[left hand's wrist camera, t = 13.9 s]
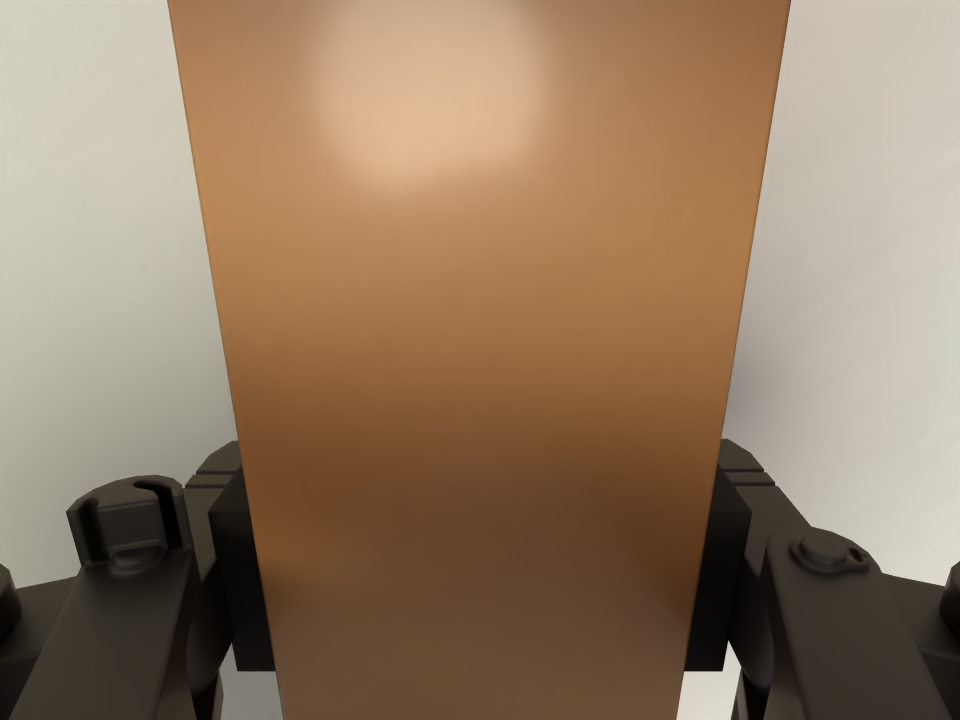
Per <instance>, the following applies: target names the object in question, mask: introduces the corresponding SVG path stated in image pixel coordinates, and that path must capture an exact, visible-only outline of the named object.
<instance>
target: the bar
mask: <svg viewBox="0 0 960 720" xmlns="http://www.w3.org/2000/svg"><path fill="white" fill-rule="evenodd" d="M167 2H168V8H169V14H170V20H171V26H172V33H173V39H174V45H175V51H176V57H177V64H178V70H179V76H180V82H181V88H182V94H183V101H184V107H185V113H186V119H187V125H188V132H189V138H190V144H191V150H192V156H193V163H194V169H195V175H196V181H197V187H198V193H199V200H200V206H201V212H202V218H203V224H204V231H205V237H206V243H207V249H208V255H209V262H210V268H211V274H212V280H213V286H214V292H215V299H216V305H217V311H218V317H219V323H220V330H221V336H222V342H223V348H224V354H225V361H226V367H227V373H228V379H229V385H230V392H231V398H232V404H233V410H234V416H235V422H236V429H237V435H238V441H239V447H240V453H241V460H242V466H243V472H244V478H245V484H246V491H247V497H248V503H249V509H250V515H251V521H252V528H253V534H254V540H255V546H256V552H257V559H258V565H259V571H260V577H261V583H262V590H263V596H264V602H265V608H266V614H267V620H268V627H269V633H270V639H271V645H272V651H273V658H274V664H275V670H276V676H277V682H278V689H279V695H280V701H281V707H282V713H283V720H676V718H677V712H678V706H679V699H680V693H681V687H682V681H683V674H684V668H685V662H686V655H687V649H688V643H689V637H690V630H691V624H692V618H693V612H694V605H695V599H696V593H697V587H698V580H699V574H700V568H701V561H702V555H703V549H704V543H705V536H706V530H707V524H708V518H709V511H710V505H711V499H712V493H713V486H714V480H715V474H716V467H717V461H718V455H719V449H720V442H721V436H722V430H723V424H724V417H725V411H726V405H727V399H728V392H729V386H730V380H731V373H732V367H733V361H734V355H735V348H736V342H737V336H738V330H739V323H740V317H741V311H742V305H743V298H744V292H745V286H746V279H747V273H748V267H749V261H750V254H751V248H752V242H753V236H754V229H755V223H756V217H757V210H758V204H759V198H760V192H761V185H762V179H763V173H764V167H765V160H766V154H767V148H768V142H769V135H770V129H771V123H772V116H773V110H774V104H775V98H776V91H777V85H778V79H779V73H780V66H781V60H782V54H783V48H784V41H785V35H786V29H787V22H788V16H789V10H790V4H791V0H167Z"/></svg>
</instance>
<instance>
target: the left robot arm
mask: <svg viewBox="0 0 960 720" xmlns="http://www.w3.org/2000/svg"><path fill="white" fill-rule="evenodd" d="M66 514H67V518H68V521H69V525H70V528H71V531H72V535H73V538H74V542H75V545H76V549H77V552H78V556H79V559H80V563H81V566H82V567H81V569H80V571H79V573H78V575H77V576H75V577H71V578H67V579H63V580H58V581H53V582H48V583H43V584H38V585H33V586H29V587H24V588H19V589H15V586H14V583H13V580H12V577H11V574H10V571H9V570H8V569H7V568H6V567H4V566H3V565H2V564H0V720H221V712H222V703H223V695H224V694H223V687H222V681H221V676H220V671H219V668H220V666H221V664H222V662H223V660H224V657H225V655H226V653H227V651H228V649H229V647H230V645H231V643H232V645H233V651H234V656H235V661H236V667H237V671H276V670H275V664H274V658H273V651H272V645H271V639H270V633H269V627H268V620H267V614H266V608H265V602H264V596H263V590H262V583H261V577H260V571H259V565H258V559H257V552H256V546H255V540H254V534H253V528H252V521H251V515H250V509H249V503H248V497H247V491H246V484H245V478H244V472H243V466H242V460H241V453H240V447H239V441H232V442H230V443H228V444H227V445H225V446H223V447H222V448H220V449H219V450H217V451H215V452H214V453H212V454H211V455H209V457H208V458H207V459H206V460H205V461H204V463H203V464H202V465H201V466H200V468H199V469H198V470H197V471H196V475H193V476H192V477H191V479H190V480H189V481H188V482H187V483H186V485H185V489H183V488H182V485H181V484H180V483H178V482H177V481H176V480H174V479H173V478H169V477H164V476H159V475H150V476H135V477H131V478H126V479H122V480H117V481H114V482H111V483H109V484H106V485H104V486H101V487H98V488H96V489H94V490H92V491H90V492H89V493H87V494H86V495H84V496H82V497H81V498H79V499H77V500H76V501H75V502H74V503H73V505H72V506H71V507H70V508H69V509H68V510H67V511H66ZM728 640H729V642H730V644H731V646H732V648H733V650H734V653H735V655H736V657H737V659H738V661H739V663H740V665H741V671H740V676H739V681H738V686H737V691H736V696H735V701H734V705H733V710H732V715H731V720H960V562H958V563H957V564H955V565H954V566H953V567H952V568H951V571H950V573H949V576H948V579H947V582H946V585H945V586H940V585H935V584H930V583H925V582H920V581H916V580H911V579H906V578H901V577H896V576H892V575H888V574H884V573H882V572H881V570H880V568H879V566H878V564H877V563H876V562H875V560H874V559H873V558H872V557H871V555H870V554H869V553H868V552H867V551H865V550H864V549H863V548H861V547H860V546H858V545H857V544H856V543H854V542H853V541H851V540H849V539H847V538H844V537H842V536H840V535H838V534H836V533H833V532H831V531H827V530H823V529H819V528H815V527H811V526H810V524H809V523H808V522H807V521H806V520H805V518H804V517H803V516H802V515H801V514H800V512H799V511H798V510H797V509H796V508H795V506H794V505H793V504H792V503H791V501H790V500H789V499H788V498H787V497H786V495H785V494H784V493H783V492H782V491H781V489H780V488H779V487H778V486H775V482H774V481H773V480H772V478H771V477H770V476H769V475H768V474H767V472H764V469H763V468H762V466H761V465H760V464H759V463H758V462H757V460H756V459H755V458H754V457H753V455H752V454H751V453H750V452H748V451H746V450H745V449H743V448H742V447H740V446H738V445H737V444H735V443H733V442H732V441H730V440H729V439H721V442H720V449H719V455H718V461H717V467H716V474H715V480H714V486H713V493H712V499H711V505H710V511H709V518H708V524H707V530H706V536H705V543H704V549H703V555H702V561H701V568H700V574H699V580H698V587H697V593H696V599H695V605H694V612H693V618H692V624H691V630H690V637H689V643H688V649H687V655H686V662H685V668H684V671H723V666H724V661H725V655H726V650H727V645H728Z"/></svg>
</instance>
